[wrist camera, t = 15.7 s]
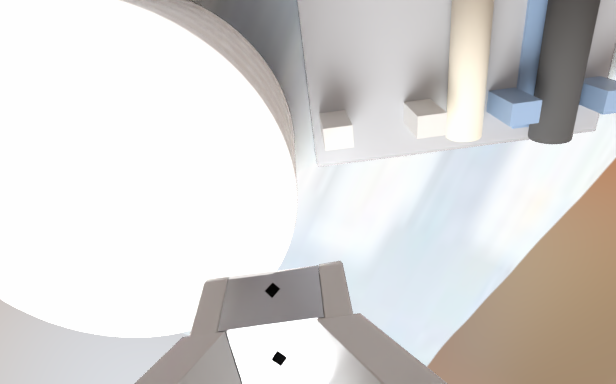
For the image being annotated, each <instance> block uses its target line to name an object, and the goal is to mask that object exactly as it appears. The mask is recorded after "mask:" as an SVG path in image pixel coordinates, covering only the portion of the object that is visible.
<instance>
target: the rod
mask: <svg viewBox="0 0 616 384" xmlns="http://www.w3.org/2000/svg"><path fill="white" fill-rule="evenodd" d="M493 10H494V0H452V7H451V29H450V50H449V71H448V93H447V129H446V138H447V139H449V140H452V141H456V142H472V141H476V140H479V139H480V138H481V137H482V129H483V118H484V107H485V96H486V86H487V75H488V64H489V53H490V42H491V32H492V21H493Z"/></svg>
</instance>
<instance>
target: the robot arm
mask: <svg viewBox="0 0 616 384" xmlns="http://www.w3.org/2000/svg"><path fill="white" fill-rule="evenodd" d="M319 272H320V273H319ZM135 384H447V383H446V382H445V381H443V380H442V379H441V378H440V377H439V376H437V375H436V374H434V372H432V371H431V370H430V369H429V368H427V367H426V366H425V365H424V364H422V363H421V362H420V361H419V360H417V359H416V358H415V357H414V356H413V355H411V354H410V353H409V352H408V351H406V350H405V349H404V348H403V347H401V346H400V345H399V344H398V343H396V342H395V341H394V340H393V339H392V338H390V337H389V336H388V335H387V334H385V333H384V332H383V331H382V330H380V329H379V328H378V327H377V326H375V325H374V324H373V323H372V322H370V321H369V320H368V319H367V318H366V317H364V316H363V315H362V314H361V313H358V314H353V311H352V306H351V301H350V297H349V292H348V287H347V282H346V277H345V273H344V268H343V263H342V262H341V261H336V262H330V263H324V264H319V267H318V265H316V266H309V267H302V268H295V269H288V270H281V271H271V272H262V273H254V274H245V275H236V276H230V277H221V278H213V279H207V281H206V282H205V283H204V285H203V289H202V292H201V296H200V299H199V303H198V307H197V310H196V314H195V318H194V321H193V325H192V328H191V332H190V336H188V337H182V338H181V339H180V340H179V341H178V342H177V343H176V344H175V345H174V346H173V347H172V348H171V349H170V350H169V351H168V352H167V353H166V354H165V355H164V356H163V357H161V359H159V360H158V361H157V362H156V363H155V364H154V365H153V366H152V367H151V368H150V369H149V370H148V371H147V372H146V373H145V374H144V375H143V376H142V377H141V378H140V379H139V380H138V381H137V382H136V383H135Z"/></svg>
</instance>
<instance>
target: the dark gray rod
mask: <svg viewBox="0 0 616 384" xmlns="http://www.w3.org/2000/svg"><path fill="white" fill-rule="evenodd" d="M600 1H601V0H548V4H547V11H546V17H545V24H544V30H543V37H542V44H541V50H540V57H539V64H538V70H537V77H536V84H535V90H534V96H535V97H537V98H539V99H541V100H542V106H541V112H540V119H539V123H535V124H529V130H528V138H529V139H531V140H533V141H535V142H539V143H544V144H562V143H566V142H569V141H571V139H572V136H573V131H574V126H575V121H576V116H577V111H578V107H579V102H580V97H581V92H582V87H583V83H584V78H585V73H586V68H587V63H588V58H589V54H590V49H591V44H592V39H593V34H594V29H595V25H596V20H597V15H598V10H599V5H600Z"/></svg>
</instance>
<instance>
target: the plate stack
mask: <svg viewBox="0 0 616 384" xmlns="http://www.w3.org/2000/svg"><path fill="white" fill-rule="evenodd" d="M296 215H297V182H296V162H295V146H294V132H293V125H292V119H291V115H290V111H289V108H288V104H287V101H286V99H285V96H284V94H283V91H282V89H281V87H280V85H279V83H278V81H277V79H276V77H275V76H274V74H273V72H272V71H271V69H270V67H269V66H268V64H267V63H266V62H265V60H264V59H263V58H262V56H261V55H260V54H259V53H258V51H257V50H256V49H255V48H254V47H253V46H252V45H251V44H250V42H249V41H248V40H247V39H246V38H244V37H243V36H242V35H241V34H240V33H239V32H238V31H237V30H236V29H234V28H233V27H232V26H231V25H229V24H228V23H227V22H225V21H224V20H223V19H221V18H220V17H218V16H217V15H215V14H213V13H212V12H210V11H208V10H207V9H205V8H203V7H201V6H199V5H197V4H195V3H193V2H191V1H188V0H0V299H1V300H3V301H4V302H6V303H8V304H10V305H11V306H13V307H15V308H17V309H19V310H21V311H23V312H25V313H28V314H30V315H32V316H34V317H37V318H39V319H42V320H45V321H47V322H50V323H53V324H56V325H59V326H63V327H66V328H69V329H73V330H77V331H81V332H86V333H91V334H97V335H105V336H114V337H134V338H136V337H156V336H164V335H171V334H176V333H181V332H186V331H190V330H191V328H192V325H193V321H194V318H195V314H196V310H197V307H198V303H199V299H200V296H201V292H202V289H203V285H204V283H205V282H206V281H207V279H213V278H221V277H230V276H236V275H245V274H254V273H262V272H271V271H277V269H278V267H279V266H280V264H281V262H282V260H283V259H284V256H285V254H286V252H287V250H288V247H289V245H290V242H291V239H292V235H293V232H294V227H295V222H296Z"/></svg>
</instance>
